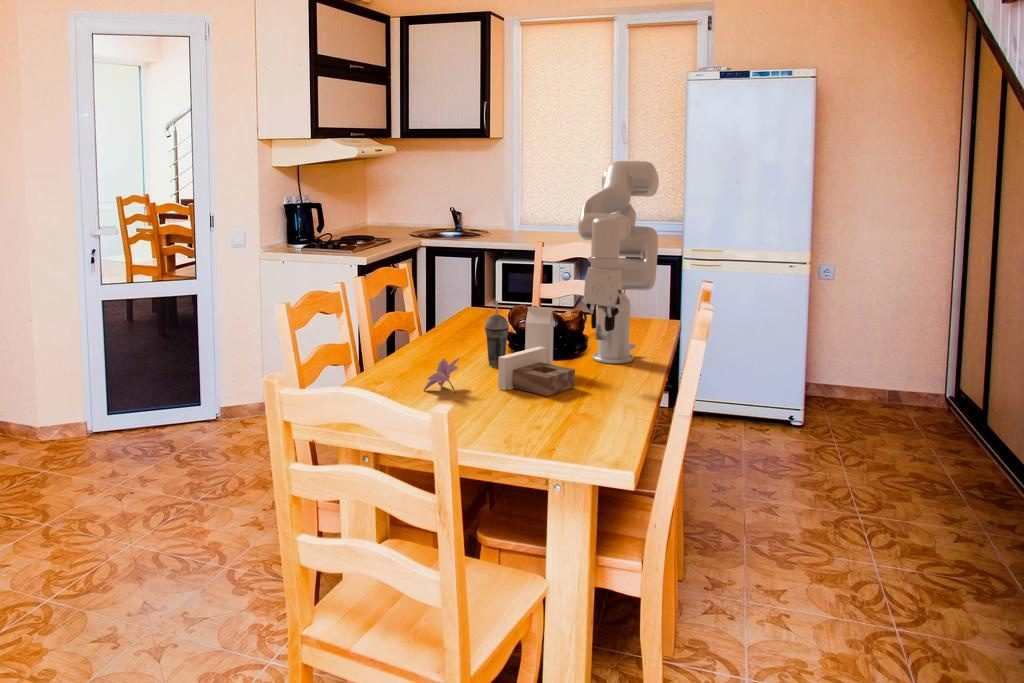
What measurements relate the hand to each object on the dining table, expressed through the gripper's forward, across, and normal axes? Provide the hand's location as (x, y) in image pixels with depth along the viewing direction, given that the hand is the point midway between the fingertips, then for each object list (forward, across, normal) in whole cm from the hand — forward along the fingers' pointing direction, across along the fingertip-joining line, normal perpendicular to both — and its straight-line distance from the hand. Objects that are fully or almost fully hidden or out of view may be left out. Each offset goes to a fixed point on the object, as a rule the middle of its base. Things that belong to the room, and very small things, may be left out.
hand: (602, 328), depth 246 cm
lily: (+16, -27, -35) cm, 47 cm away
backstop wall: (+16, -16, -15) cm, 27 cm away
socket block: (+16, -8, -15) cm, 23 cm away
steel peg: (+3, 0, 0) cm, 3 cm away
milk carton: (+16, -22, -1) cm, 27 cm away
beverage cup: (+16, -34, -5) cm, 39 cm away
